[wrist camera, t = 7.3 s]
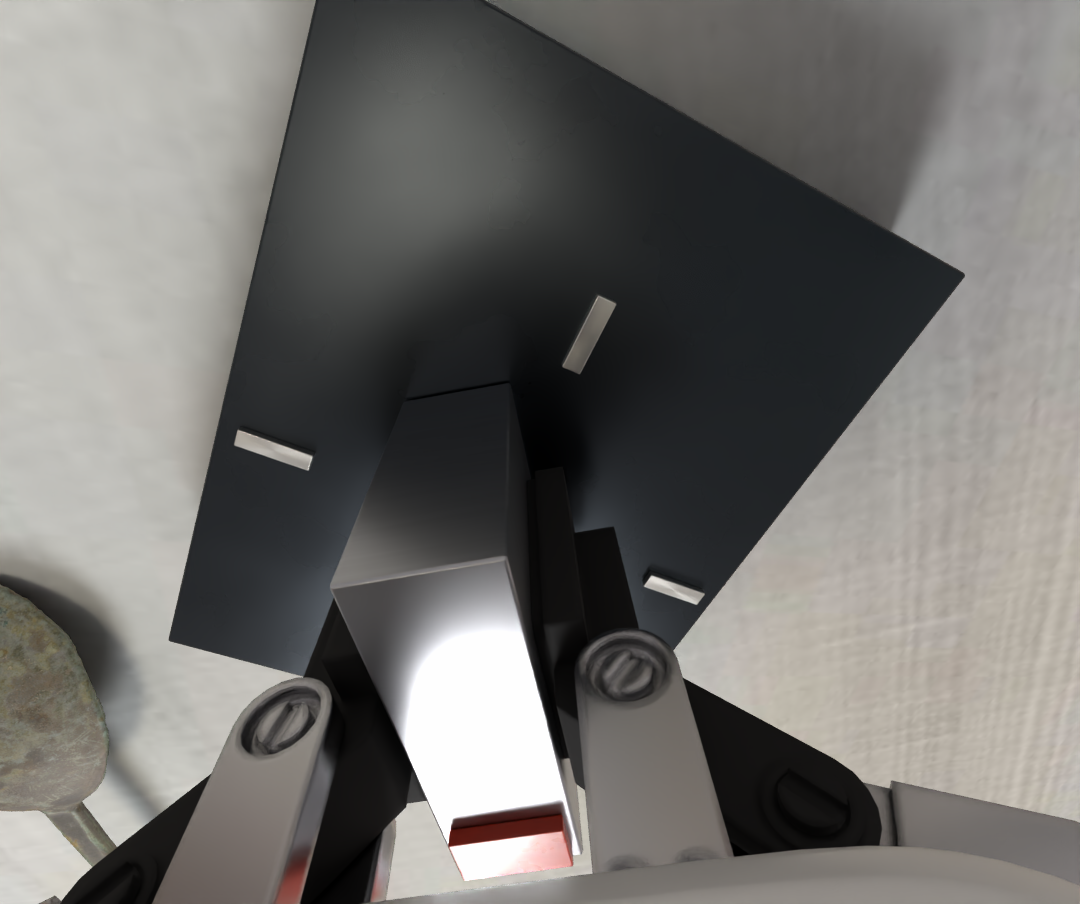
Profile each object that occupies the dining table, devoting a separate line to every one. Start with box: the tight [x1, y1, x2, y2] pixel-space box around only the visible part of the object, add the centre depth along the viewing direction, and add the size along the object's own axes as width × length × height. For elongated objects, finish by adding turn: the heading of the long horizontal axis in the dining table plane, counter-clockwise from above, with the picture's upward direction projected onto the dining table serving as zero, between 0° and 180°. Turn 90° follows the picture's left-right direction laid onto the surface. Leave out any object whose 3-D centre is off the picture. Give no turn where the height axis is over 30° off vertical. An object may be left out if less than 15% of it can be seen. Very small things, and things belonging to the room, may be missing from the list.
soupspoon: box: [0, 585, 117, 867], centre depth 20 cm, size 22×3×7 cm
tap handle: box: [330, 383, 583, 881], centre depth 10 cm, size 6×2×5 cm, turn 10°
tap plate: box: [169, 0, 965, 677], centre depth 13 cm, size 14×11×3 cm
